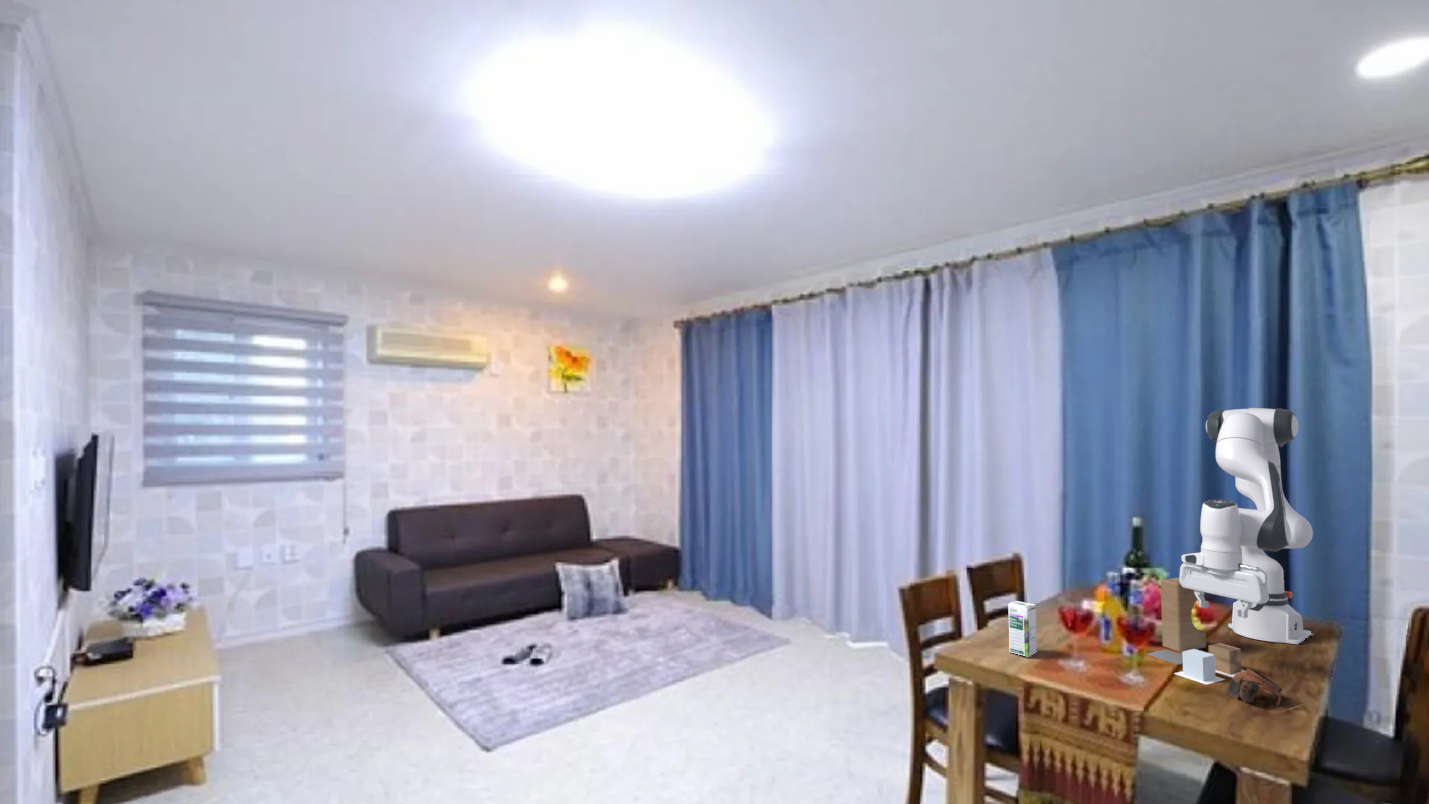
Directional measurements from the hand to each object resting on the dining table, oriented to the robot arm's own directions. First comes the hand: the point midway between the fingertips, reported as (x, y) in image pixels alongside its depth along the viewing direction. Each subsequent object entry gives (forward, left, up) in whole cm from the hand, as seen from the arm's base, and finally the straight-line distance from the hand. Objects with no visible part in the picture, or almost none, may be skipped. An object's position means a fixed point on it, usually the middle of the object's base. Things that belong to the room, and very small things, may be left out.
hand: (1222, 612), depth 176 cm
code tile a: (0, 0, -16) cm, 16 cm away
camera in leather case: (+14, +14, -16) cm, 26 cm away
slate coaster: (+3, -12, -16) cm, 20 cm away
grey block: (+11, 0, -15) cm, 19 cm away
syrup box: (+38, -32, -16) cm, 52 cm away
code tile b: (+11, 0, -16) cm, 19 cm away
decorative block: (-9, -16, -16) cm, 24 cm away
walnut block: (0, 0, -15) cm, 15 cm away
